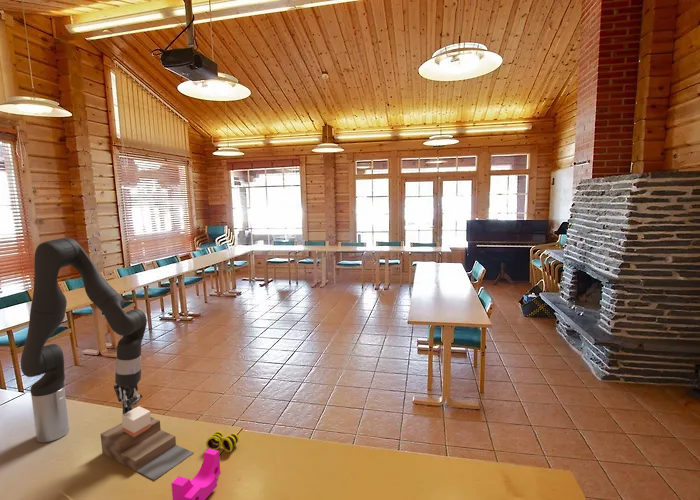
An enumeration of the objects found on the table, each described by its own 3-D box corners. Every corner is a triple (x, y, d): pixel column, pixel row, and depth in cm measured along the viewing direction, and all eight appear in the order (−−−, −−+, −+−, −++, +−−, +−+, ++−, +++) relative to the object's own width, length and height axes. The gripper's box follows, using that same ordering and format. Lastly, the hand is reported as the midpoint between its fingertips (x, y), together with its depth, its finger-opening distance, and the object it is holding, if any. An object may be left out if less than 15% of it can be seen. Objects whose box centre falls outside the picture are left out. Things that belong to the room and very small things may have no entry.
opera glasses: (240, 444, 126) (239, 431, 126) (232, 454, 121) (231, 440, 121) (214, 441, 128) (214, 428, 128) (206, 451, 123) (205, 437, 123)
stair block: (102, 453, 123) (100, 434, 122) (142, 430, 135) (140, 413, 135) (154, 480, 110) (152, 459, 109) (193, 453, 122) (192, 433, 121)
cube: (122, 431, 123) (121, 414, 122) (139, 421, 128) (138, 406, 127) (133, 437, 120) (133, 420, 119) (150, 427, 126) (150, 411, 125)
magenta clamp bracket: (191, 513, 98) (189, 488, 97) (173, 508, 100) (171, 482, 99) (227, 475, 112) (225, 452, 111) (210, 470, 114) (209, 448, 113)
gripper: (105, 365, 123) (104, 412, 125) (129, 379, 117) (127, 428, 120) (127, 358, 129) (126, 402, 132) (151, 370, 124) (149, 416, 126)
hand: (127, 414), depth 126 cm, fingers closed
